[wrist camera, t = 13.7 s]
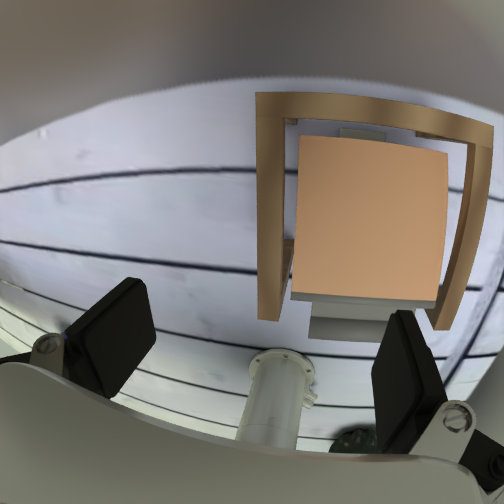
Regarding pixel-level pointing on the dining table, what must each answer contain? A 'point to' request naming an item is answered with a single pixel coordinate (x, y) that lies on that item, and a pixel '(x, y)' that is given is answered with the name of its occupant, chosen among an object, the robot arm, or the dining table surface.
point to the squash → (356, 443)
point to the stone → (362, 134)
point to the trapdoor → (367, 233)
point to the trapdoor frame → (370, 112)
